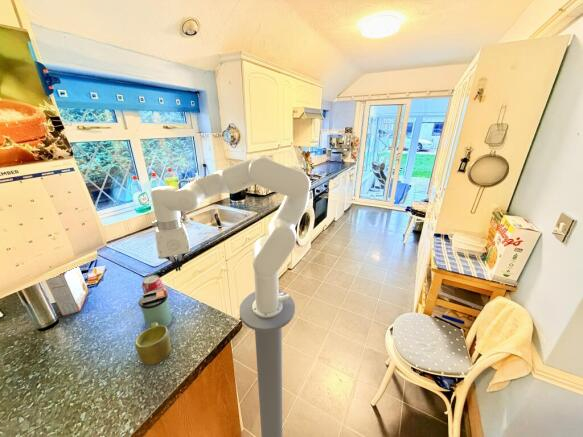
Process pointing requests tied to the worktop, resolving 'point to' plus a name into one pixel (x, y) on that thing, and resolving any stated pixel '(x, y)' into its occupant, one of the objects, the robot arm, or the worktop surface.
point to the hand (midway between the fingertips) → (178, 268)
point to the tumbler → (155, 309)
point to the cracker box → (68, 291)
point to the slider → (161, 293)
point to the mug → (153, 344)
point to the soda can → (151, 283)
